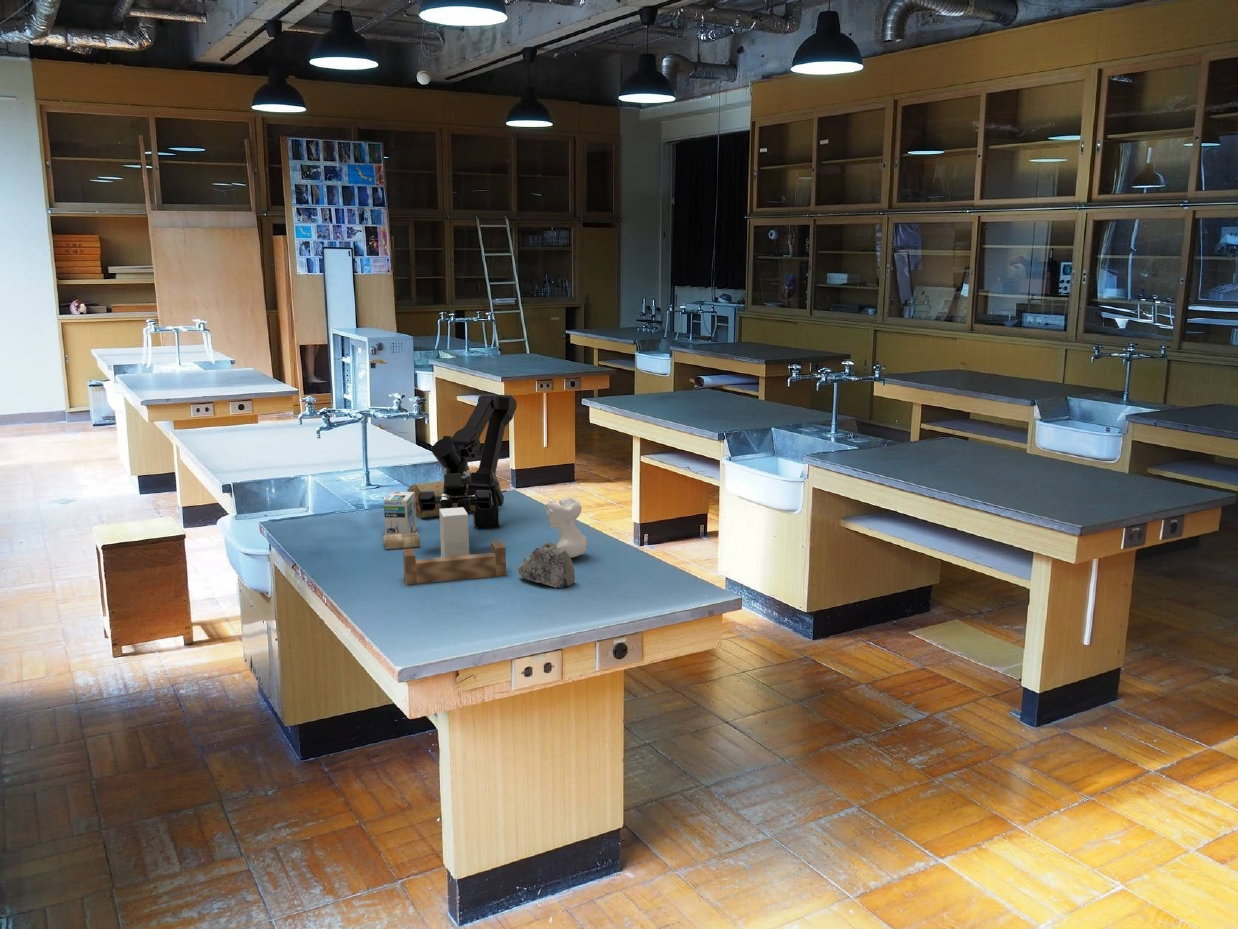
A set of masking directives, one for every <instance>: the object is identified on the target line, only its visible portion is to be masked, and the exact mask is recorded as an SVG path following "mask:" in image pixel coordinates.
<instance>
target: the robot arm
mask: <svg viewBox="0 0 1238 929" xmlns="http://www.w3.org/2000/svg"><path fill="white" fill-rule="evenodd" d="M517 405H518V402H517V400H516V399H515V398H514V395H511V394H482V395H479V396H478V398H477V404H476V405H475V407H474V409H473V410H472V412H471V414H470V416H469V418H467V421H466V423H465V425H464V426H463V427H462V428H460V429H459V430H456V432H455V433H454V434H453V436H451V435H443V437H442V439H439V440H437V441H436V442H435V443H434V444H433V445H432V447H431V453H432V455H433V457H435V458H436V460H437V462H438V463H439V464H440V466H441V467H443V468H445V474H444V475H443V481H444V490H443V491H444V493H445V495H441V496H435V494H434V491H421V492H420V493H419V494H418V502H419V507H420V510H422V511H433V510H434V509H435V508H436V504H440V505H441V509H444V508H453V507H452V504H457V508H459V507H464V509H465V511H466V512H467V513H471V512H470V511H471V509H470V505H475V509H474V510H473V511H472V522H473V525H474V526H475V528H476V529H478V530H483V529H494V528H495V529H496V528H500V527H501V524H500V521H499V520H500V519H499V507H503V504H504V501H505V500H504V499H505V497H504V494H503V492H502V491H500V490H499V482H500V481H499V482H498V480H499V478H498V477H497V475H496V472H497V467H498V463H499V458H500V453H501V448H502V444H503V439H504V433H505V430H506V426H508V424H509V423H510V422H511V421H512V420H513V418H514V415H515V411H516V410H517V407H518V406H517ZM486 426H487V429H486ZM484 429H486V434H485V439H484V442H483V448H482V452H481V457H480V462H479V466H478V468H477V470H476V471H473V472H471V471H469V470H470V467H469V465H468V464H469V462H468V461H467V459H466V458H475V457H476V456H477V455H478V454H479V452H480V448H481V445H482V444H481V440H480V438H481V436H482V434H483V433H484ZM467 485H468V487H467Z"/></svg>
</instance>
